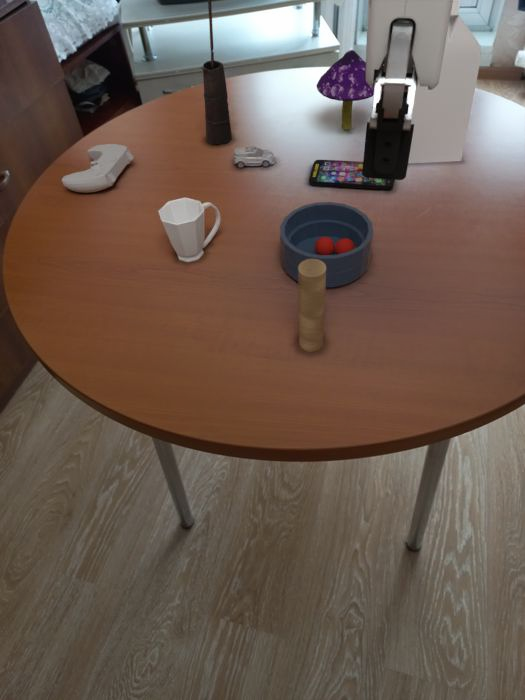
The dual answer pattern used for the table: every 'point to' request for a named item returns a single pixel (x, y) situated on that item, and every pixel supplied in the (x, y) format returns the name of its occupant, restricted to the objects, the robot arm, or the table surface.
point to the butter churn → (215, 97)
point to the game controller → (100, 169)
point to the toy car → (253, 157)
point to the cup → (187, 226)
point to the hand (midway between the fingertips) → (388, 144)
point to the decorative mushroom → (346, 84)
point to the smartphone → (345, 175)
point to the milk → (447, 98)
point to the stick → (311, 303)
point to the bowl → (332, 223)
